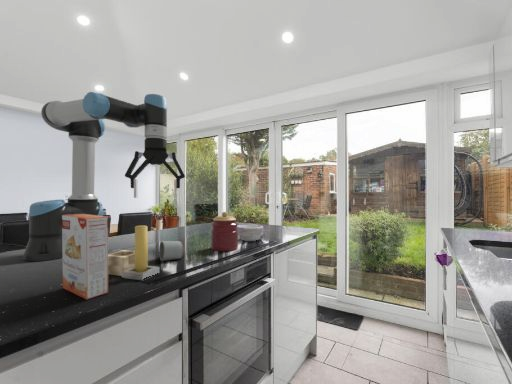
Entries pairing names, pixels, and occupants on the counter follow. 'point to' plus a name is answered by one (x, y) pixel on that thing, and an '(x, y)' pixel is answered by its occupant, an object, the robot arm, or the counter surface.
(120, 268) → the beech socket block
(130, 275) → the grey mount plate
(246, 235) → the paper bowls
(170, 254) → the ceramic mug
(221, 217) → the canister
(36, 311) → the counter surface
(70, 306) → the counter surface
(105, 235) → the cracker box
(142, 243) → the ochre pin
